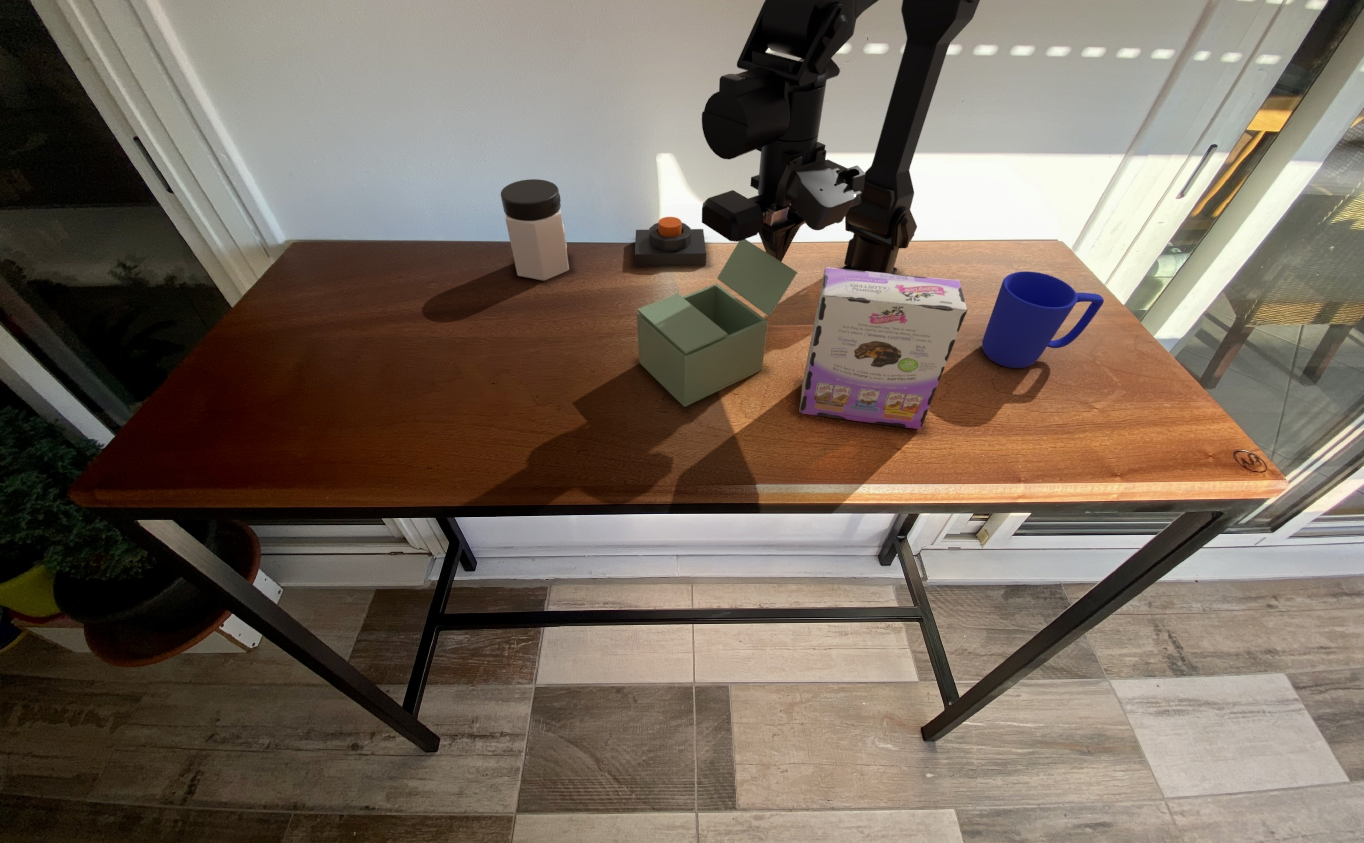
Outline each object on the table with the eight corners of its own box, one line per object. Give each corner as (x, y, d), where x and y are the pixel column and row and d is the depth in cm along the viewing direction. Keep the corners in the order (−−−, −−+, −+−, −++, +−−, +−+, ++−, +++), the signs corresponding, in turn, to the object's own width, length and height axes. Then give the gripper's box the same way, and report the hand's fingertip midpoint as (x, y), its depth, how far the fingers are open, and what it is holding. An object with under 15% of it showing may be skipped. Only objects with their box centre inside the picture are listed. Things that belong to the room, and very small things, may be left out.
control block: (702, 241, 99) (703, 218, 96) (705, 266, 93) (706, 242, 90) (636, 241, 98) (635, 219, 96) (635, 267, 93) (634, 243, 90)
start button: (681, 227, 94) (681, 216, 93) (681, 238, 92) (682, 227, 91) (658, 227, 94) (658, 216, 93) (658, 238, 92) (658, 227, 91)
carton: (714, 331, 81) (717, 278, 75) (762, 370, 75) (769, 316, 69) (639, 363, 76) (636, 309, 70) (684, 407, 70) (685, 352, 64)
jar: (572, 278, 90) (561, 201, 82) (517, 284, 89) (500, 207, 80) (567, 249, 96) (556, 175, 88) (515, 254, 95) (500, 180, 87)
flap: (716, 278, 75) (718, 279, 75) (768, 316, 69) (769, 316, 70) (741, 236, 73) (742, 237, 73) (796, 271, 68) (797, 272, 68)
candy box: (916, 398, 72) (963, 277, 60) (920, 432, 68) (970, 310, 56) (801, 382, 74) (824, 262, 62) (798, 414, 69) (822, 293, 58)
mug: (1082, 377, 75) (1125, 309, 68) (986, 375, 75) (1018, 308, 68) (1055, 337, 80) (1091, 271, 73) (965, 335, 81) (993, 270, 73)
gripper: (773, 181, 53) (758, 324, 64) (913, 135, 60) (877, 271, 72) (699, 142, 59) (697, 279, 70) (833, 105, 67) (812, 234, 78)
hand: (774, 266), depth 72 cm, fingers closed
